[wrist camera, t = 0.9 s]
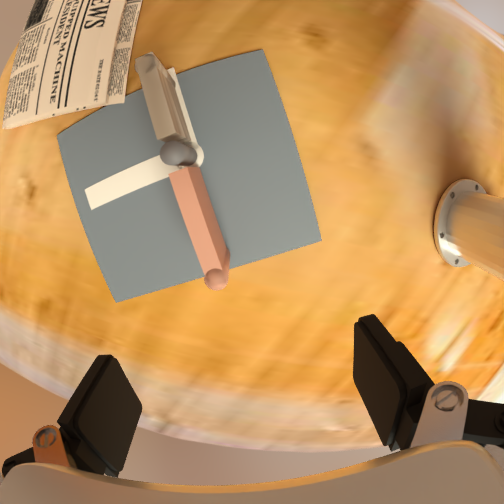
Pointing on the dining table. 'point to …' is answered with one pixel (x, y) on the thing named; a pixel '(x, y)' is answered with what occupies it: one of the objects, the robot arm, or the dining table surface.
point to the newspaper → (70, 58)
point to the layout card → (208, 159)
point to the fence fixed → (162, 100)
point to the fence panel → (198, 213)
